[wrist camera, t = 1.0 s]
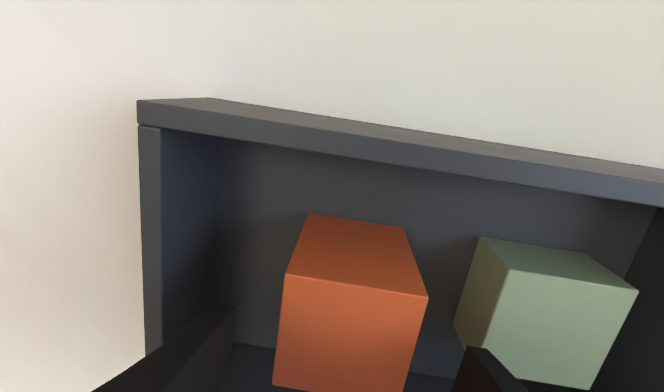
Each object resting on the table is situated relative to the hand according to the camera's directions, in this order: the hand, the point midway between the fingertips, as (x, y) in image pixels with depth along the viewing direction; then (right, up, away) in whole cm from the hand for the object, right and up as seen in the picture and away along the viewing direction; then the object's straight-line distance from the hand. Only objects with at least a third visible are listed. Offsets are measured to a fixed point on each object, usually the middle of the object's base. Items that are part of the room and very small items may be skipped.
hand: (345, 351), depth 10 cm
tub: (+3, +1, +6) cm, 7 cm away
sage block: (+8, 0, +5) cm, 10 cm away
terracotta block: (0, +2, +5) cm, 6 cm away
